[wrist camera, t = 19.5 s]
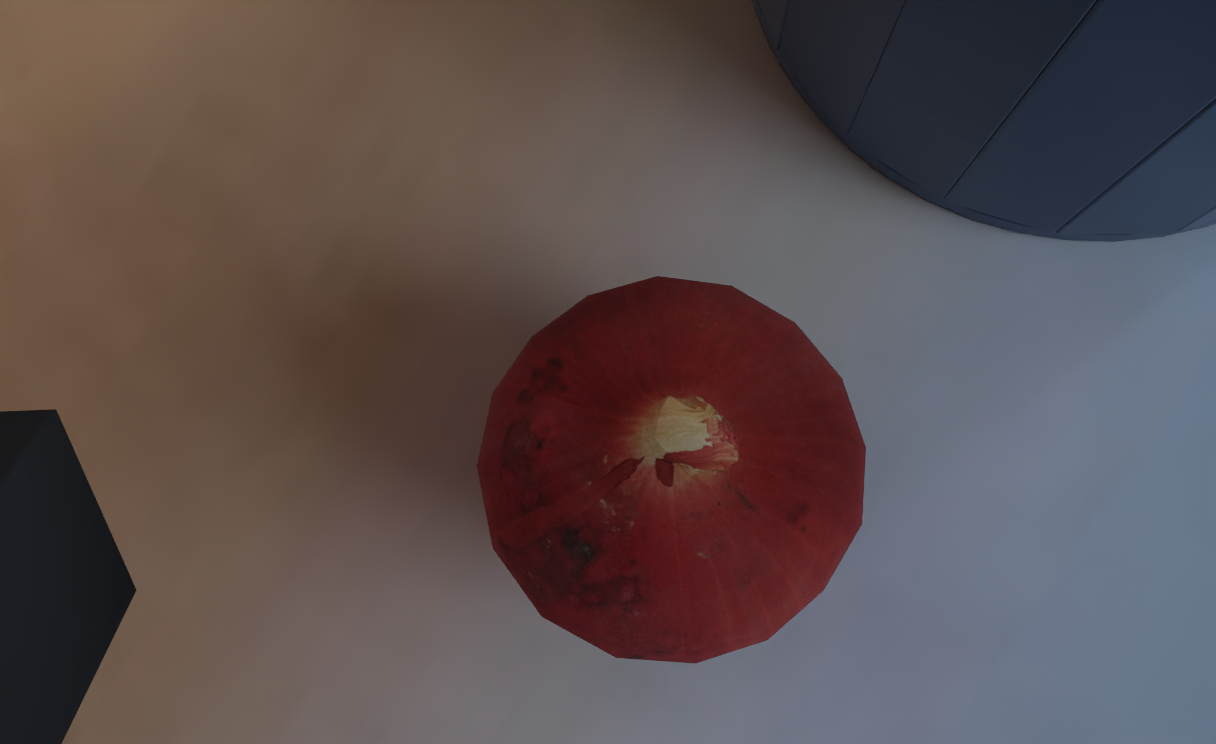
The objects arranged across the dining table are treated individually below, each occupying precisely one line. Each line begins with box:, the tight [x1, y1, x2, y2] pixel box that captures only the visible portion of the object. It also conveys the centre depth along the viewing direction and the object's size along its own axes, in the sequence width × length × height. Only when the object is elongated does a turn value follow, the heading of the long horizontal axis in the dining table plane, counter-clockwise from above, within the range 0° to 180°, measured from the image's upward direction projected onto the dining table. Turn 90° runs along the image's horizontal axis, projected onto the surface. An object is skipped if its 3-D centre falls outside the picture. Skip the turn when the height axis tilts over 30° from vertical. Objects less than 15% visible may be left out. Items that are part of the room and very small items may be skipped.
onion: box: [477, 276, 866, 663], centre depth 17 cm, size 6×6×8 cm
